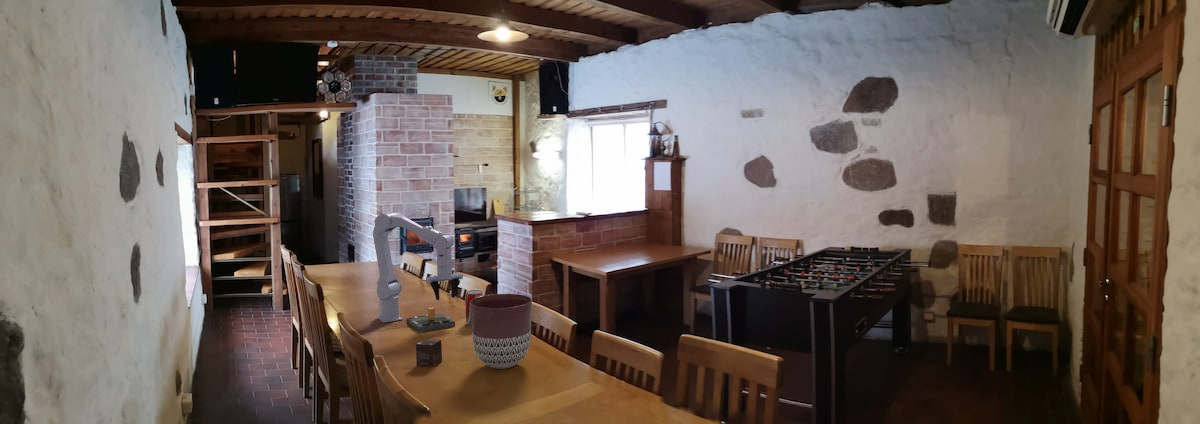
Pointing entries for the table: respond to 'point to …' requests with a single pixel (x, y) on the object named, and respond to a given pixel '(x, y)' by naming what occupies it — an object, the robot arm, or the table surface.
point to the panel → (431, 323)
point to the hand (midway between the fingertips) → (445, 298)
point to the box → (429, 352)
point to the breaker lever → (431, 313)
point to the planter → (501, 328)
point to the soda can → (468, 298)
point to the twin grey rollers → (417, 317)
